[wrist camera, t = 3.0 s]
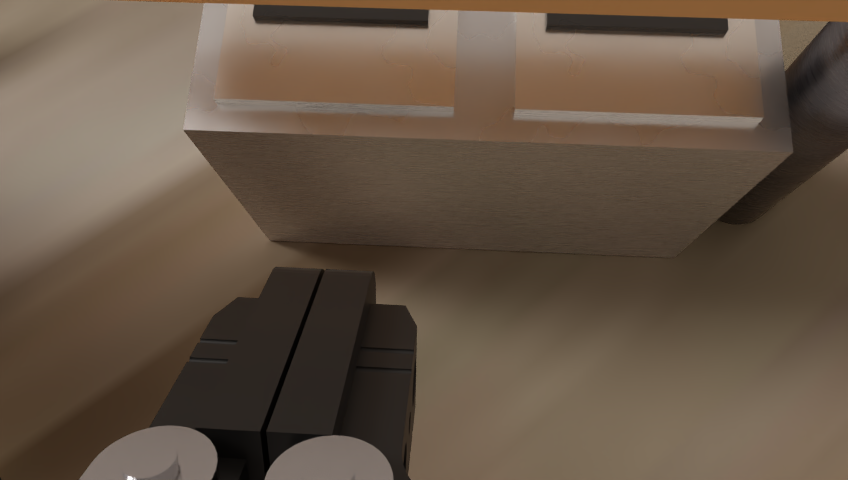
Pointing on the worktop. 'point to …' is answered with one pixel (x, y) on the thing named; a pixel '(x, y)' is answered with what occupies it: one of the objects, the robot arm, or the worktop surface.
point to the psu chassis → (509, 124)
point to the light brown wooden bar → (599, 7)
